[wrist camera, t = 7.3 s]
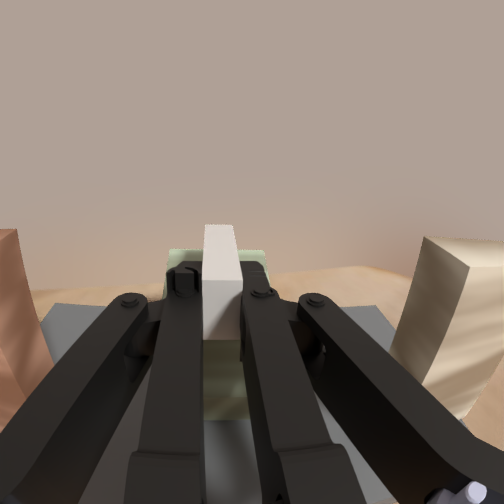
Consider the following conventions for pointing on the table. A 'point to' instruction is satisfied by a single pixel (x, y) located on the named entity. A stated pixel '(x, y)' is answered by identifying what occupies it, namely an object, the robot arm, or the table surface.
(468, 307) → the cream flap
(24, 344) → the terracotta flap
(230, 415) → the sage flap
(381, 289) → the table surface
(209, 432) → the board
